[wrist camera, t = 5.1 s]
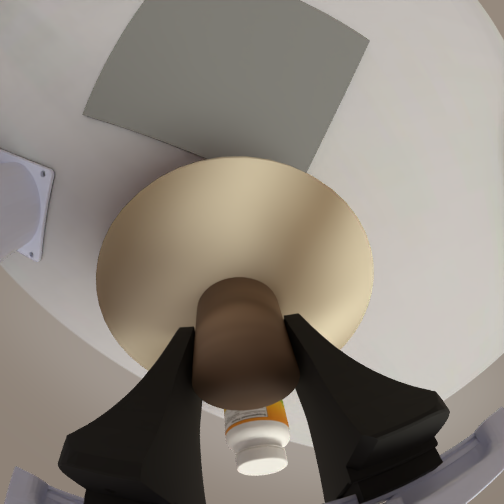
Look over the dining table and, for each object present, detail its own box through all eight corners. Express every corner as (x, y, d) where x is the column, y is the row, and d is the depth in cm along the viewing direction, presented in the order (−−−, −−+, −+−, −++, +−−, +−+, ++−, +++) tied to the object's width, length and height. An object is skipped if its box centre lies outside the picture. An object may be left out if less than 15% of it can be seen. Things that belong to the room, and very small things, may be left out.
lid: (89, 343, 13) (63, 408, 9) (155, 103, 8) (104, 87, 4) (283, 397, 17) (297, 457, 12) (409, 238, 12) (470, 287, 8)
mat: (85, 115, 14) (82, 114, 14) (176, -34, 10) (175, -37, 10) (292, 196, 18) (293, 197, 18) (366, 42, 14) (369, 40, 14)
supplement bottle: (279, 393, 26) (298, 471, 17) (229, 402, 26) (235, 481, 17) (274, 360, 24) (295, 449, 15) (217, 370, 24) (219, 460, 15)
